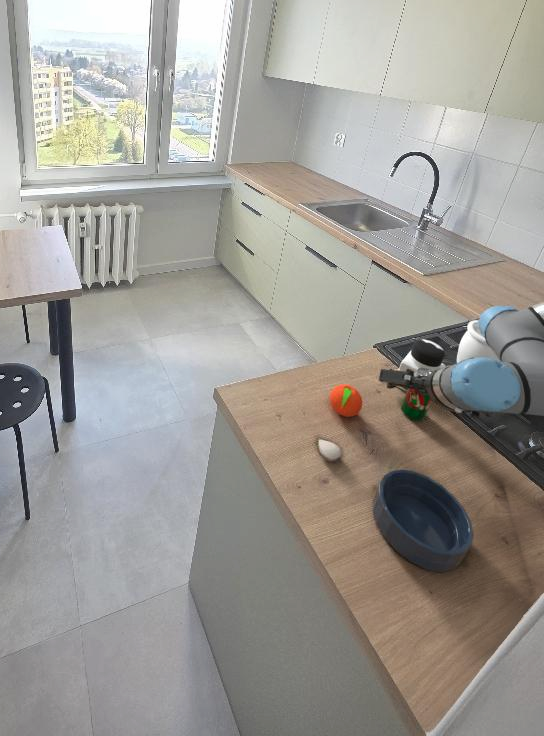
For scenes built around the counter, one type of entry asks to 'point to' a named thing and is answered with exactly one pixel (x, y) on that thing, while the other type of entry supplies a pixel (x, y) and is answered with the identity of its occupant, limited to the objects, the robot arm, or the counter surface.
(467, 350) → the jar
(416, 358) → the container
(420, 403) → the soda can
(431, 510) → the bowl
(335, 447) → the garlic clove
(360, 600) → the counter surface
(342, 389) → the clementine
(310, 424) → the counter surface
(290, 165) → the counter surface
